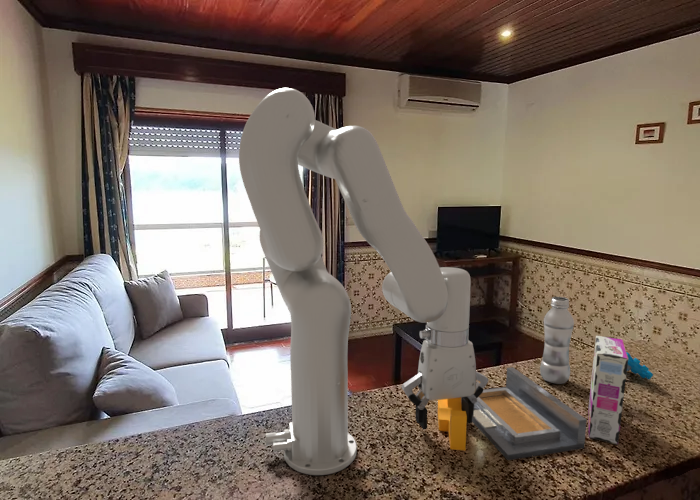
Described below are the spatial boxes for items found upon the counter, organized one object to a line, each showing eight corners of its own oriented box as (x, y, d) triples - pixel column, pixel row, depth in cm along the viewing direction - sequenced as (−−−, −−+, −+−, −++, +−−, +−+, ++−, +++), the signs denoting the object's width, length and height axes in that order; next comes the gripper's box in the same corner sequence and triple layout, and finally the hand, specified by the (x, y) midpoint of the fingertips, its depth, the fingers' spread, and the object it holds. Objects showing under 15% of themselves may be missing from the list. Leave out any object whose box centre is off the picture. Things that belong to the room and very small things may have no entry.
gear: (664, 380, 97) (635, 350, 97) (647, 399, 97) (617, 370, 96) (628, 366, 108) (602, 340, 108) (613, 383, 108) (586, 357, 107)
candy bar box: (620, 446, 76) (629, 358, 73) (588, 438, 78) (595, 353, 76) (616, 416, 85) (624, 338, 83) (587, 410, 88) (594, 334, 85)
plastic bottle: (536, 382, 100) (542, 299, 97) (542, 372, 106) (547, 293, 102) (566, 390, 96) (573, 304, 93) (571, 379, 102) (578, 297, 99)
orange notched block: (437, 413, 87) (438, 383, 86) (459, 415, 86) (460, 385, 85) (440, 448, 75) (441, 414, 74) (465, 451, 75) (466, 416, 74)
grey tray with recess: (507, 460, 72) (509, 430, 71) (450, 397, 93) (450, 373, 92) (584, 448, 75) (586, 419, 74) (511, 390, 96) (513, 367, 96)
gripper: (409, 346, 73) (407, 440, 76) (501, 338, 77) (496, 427, 79) (395, 331, 80) (394, 417, 83) (480, 325, 84) (476, 407, 86)
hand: (444, 422), depth 81 cm, fingers open, 8 cm apart
